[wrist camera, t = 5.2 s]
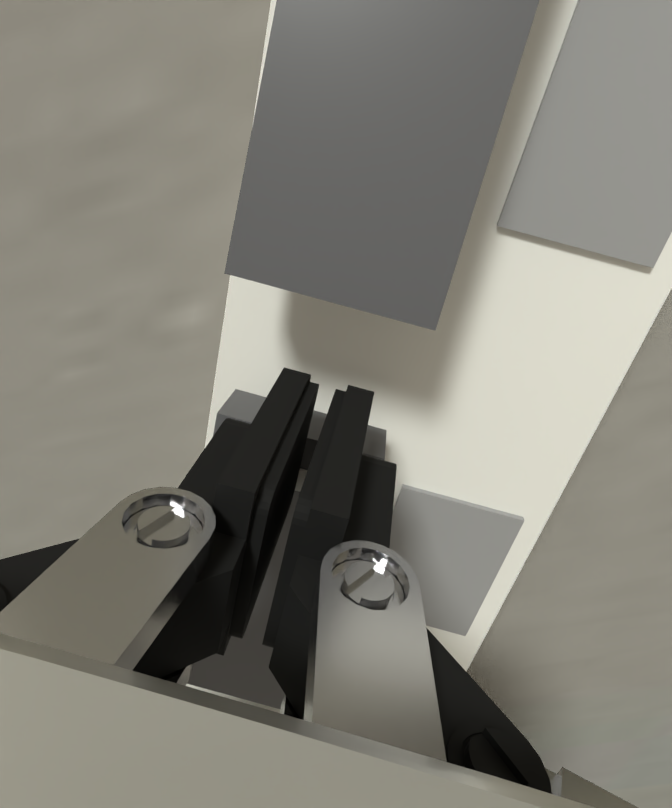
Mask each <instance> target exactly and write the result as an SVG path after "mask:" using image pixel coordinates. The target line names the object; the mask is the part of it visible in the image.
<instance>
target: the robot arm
mask: <svg viewBox="0 0 672 808" xmlns="http://www.w3.org/2000/svg"><path fill="white" fill-rule="evenodd" d="M310 379H311V375H310V374H307V373H303V372H300V371H296V370H292V369H288V368H285V367H284V368H283V370H282V372H281V373H280V375H279V377H278V378H277V380H276V382H275V383H274V385H273V387H272V389H271V390H270V392H269V394H268V395H267V397H266V399H265V401H264V402H263V404H262V406H261V407H260V409H259V411H258V413H257V414H256V416H255V418H254V419H253V421H252V423H251V424H249V423H246V422H242V421H238V420H235V419H231V418H226V419H225V420H224V421H223V423H222V424H221V426H220V427H219V429H218V430H217V431H216V433H215V434H214V436H213V437H212V439H211V440H210V442H209V443H208V445H207V446H206V448H205V449H204V451H203V452H202V453H201V455H200V456H199V458H198V459H197V461H196V462H195V464H194V465H193V467H192V468H191V470H190V471H189V473H188V474H187V475H186V477H185V478H184V480H183V481H182V483H181V484H180V486H179V487H178V488H171V487H157V488H149V489H144V490H141V491H139V492H136V493H133V494H131V495H129V496H128V497H126V498H125V499H123V500H122V501H120V502H119V503H118V504H117V505H116V506H115V507H114V508H113V509H112V510H111V511H109V512H108V513H107V514H106V515H105V516H104V517H103V518H102V519H101V520H100V521H99V522H97V523H96V524H95V525H94V526H93V527H92V528H91V529H90V530H89V531H88V532H87V533H86V534H84V535H83V536H82V537H81V538H80V539H77V540H73V541H69V542H65V543H62V544H58V545H54V546H50V547H47V548H43V549H39V550H35V551H31V552H28V553H24V554H20V555H16V556H12V557H9V558H5V559H1V560H0V808H638V807H636V806H635V805H633V804H631V803H629V802H627V801H625V800H623V799H621V798H620V797H618V796H616V795H614V794H612V793H610V792H608V791H607V790H605V789H603V788H601V787H599V786H597V785H595V784H593V783H592V782H590V781H588V780H586V779H584V778H582V777H580V776H578V775H577V774H575V773H573V772H571V771H569V770H567V769H565V768H564V767H562V768H561V769H560V771H559V772H558V773H557V774H556V773H554V772H552V771H550V770H548V769H547V768H545V767H544V765H543V763H542V761H541V758H540V757H539V755H538V754H537V753H536V751H535V750H534V749H533V747H532V746H531V745H530V743H529V742H528V740H527V739H526V738H525V737H524V736H523V735H522V734H521V733H520V731H519V730H518V729H517V728H516V727H515V726H514V725H513V724H512V722H511V721H510V720H509V719H508V718H507V717H506V716H505V715H504V714H503V712H502V711H501V710H500V709H499V708H498V707H497V706H496V705H495V703H494V702H493V701H492V700H491V699H490V698H489V697H488V696H487V694H486V693H485V692H484V691H483V690H482V689H481V688H480V687H479V686H478V684H477V683H476V682H475V681H474V680H473V679H472V678H471V677H470V675H469V674H468V673H467V672H466V671H465V670H464V669H463V668H462V667H461V665H460V664H459V663H458V662H457V661H456V660H455V659H454V658H453V656H452V655H451V654H450V653H449V652H448V651H447V650H446V649H445V648H444V646H443V645H442V644H441V643H440V642H439V641H438V640H437V639H436V637H435V636H434V635H433V634H432V633H431V632H430V631H429V630H428V629H427V627H426V622H425V615H424V609H423V602H422V596H421V589H420V584H419V581H418V578H417V575H416V573H415V572H414V570H413V569H412V567H411V566H410V565H409V563H408V562H407V561H406V560H405V559H403V558H402V557H401V556H400V555H399V554H398V553H396V552H394V551H393V550H391V549H389V547H390V536H391V525H392V514H393V503H394V492H395V481H396V470H397V465H396V464H395V463H392V462H388V461H384V460H381V459H377V458H373V457H370V456H366V455H362V452H363V447H364V442H365V437H366V432H367V427H368V422H369V417H370V412H371V406H372V401H373V396H374V392H373V391H370V390H366V389H362V388H359V387H355V386H351V385H348V387H347V390H346V391H342V390H339V389H336V390H335V392H334V395H333V398H332V401H331V404H330V407H329V410H328V413H327V416H326V418H325V421H324V424H323V427H322V430H321V433H320V436H319V439H318V442H317V445H316V447H315V450H314V453H313V456H312V459H311V462H310V465H309V468H308V471H307V474H306V476H305V479H304V482H303V485H302V488H301V491H300V494H299V497H298V500H297V504H296V507H295V511H294V514H293V518H292V522H291V526H290V530H289V534H288V538H287V543H286V547H285V551H284V555H283V559H282V563H281V568H280V572H279V576H278V580H277V584H276V588H275V593H274V597H273V601H272V605H271V609H270V613H269V618H268V622H267V626H266V630H265V634H264V638H263V643H262V645H265V646H269V647H272V648H273V651H272V655H271V659H270V663H269V669H270V671H271V672H272V674H273V676H274V677H275V679H276V680H277V682H278V684H279V685H280V687H281V689H282V690H283V692H284V696H283V700H282V704H281V709H280V713H277V712H274V711H270V710H267V709H264V708H260V707H257V706H253V705H250V704H246V703H243V702H239V701H236V700H232V699H229V698H225V697H222V696H219V695H215V694H212V693H208V692H205V691H201V690H198V689H194V688H191V687H187V686H186V684H187V682H188V681H189V679H190V676H191V674H192V671H193V669H194V663H196V662H198V661H200V660H202V659H205V658H207V657H209V656H211V655H214V654H219V655H223V656H224V653H225V651H226V648H227V646H228V643H229V640H230V638H231V636H234V637H237V638H241V639H242V638H243V636H244V634H245V631H246V628H247V626H248V623H249V620H250V617H251V614H252V612H253V609H254V606H255V603H256V600H257V598H258V595H259V592H260V589H261V586H262V584H263V581H264V578H265V575H266V572H267V570H268V567H269V564H270V561H271V558H272V556H273V553H274V550H275V547H276V544H277V542H278V539H279V536H280V533H281V530H282V528H283V525H284V522H285V519H286V517H287V514H288V511H289V508H290V505H291V502H292V499H293V495H294V491H295V487H296V483H297V479H298V474H299V470H300V466H301V462H302V457H303V453H304V449H305V445H306V440H307V436H308V432H309V428H310V423H311V419H312V415H313V411H314V406H315V402H316V398H317V394H318V389H319V384H316V383H313V382H310Z"/></svg>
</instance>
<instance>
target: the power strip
mask: <svg viewBox="0 0 672 808" xmlns="http://www.w3.org/2000/svg"><path fill="white" fill-rule="evenodd" d="M276 1H277V0H271V4H270V11H269V18H268V25H267V31H266V38H265V45H264V52H263V58H262V65H261V72H260V79H259V85H258V92H257V99H256V105H255V111H256V106H257V101H258V95H259V90H260V85H261V80H262V74H263V69H264V64H265V59H266V53H267V48H268V43H269V38H270V32H271V27H272V22H273V17H274V11H275V6H276ZM254 116H255V112H254ZM253 121H254V119H253ZM252 127H253V126H252ZM671 288H672V0H539V4H538V7H537V10H536V13H535V16H534V20H533V23H532V26H531V29H530V32H529V35H528V39H527V42H526V45H525V48H524V51H523V54H522V58H521V61H520V64H519V67H518V70H517V73H516V77H515V80H514V83H513V86H512V89H511V92H510V96H509V99H508V102H507V105H506V108H505V111H504V115H503V118H502V121H501V124H500V127H499V130H498V134H497V137H496V140H495V143H494V146H493V150H492V153H491V156H490V159H489V162H488V165H487V169H486V172H485V175H484V178H483V181H482V184H481V188H480V191H479V194H478V197H477V200H476V203H475V207H474V210H473V213H472V216H471V219H470V222H469V226H468V229H467V232H466V235H465V238H464V241H463V245H462V248H461V251H460V254H459V257H458V260H457V264H456V267H455V270H454V273H453V276H452V279H451V283H450V286H449V289H448V292H447V295H446V299H445V302H444V305H443V308H442V311H441V314H440V318H439V321H438V324H437V327H436V330H431V329H427V328H424V327H420V326H416V325H413V324H409V323H405V322H402V321H398V320H394V319H391V318H387V317H383V316H380V315H376V314H372V313H369V312H365V311H361V310H357V309H354V308H350V307H346V306H343V305H339V304H335V303H332V302H328V301H324V300H321V299H317V298H313V297H310V296H306V295H302V294H299V293H295V292H291V291H288V290H284V289H280V288H276V287H273V286H269V285H265V284H262V283H258V282H254V281H251V280H247V279H243V278H240V277H236V276H232V275H230V281H229V287H228V294H227V301H226V307H225V314H224V321H223V328H222V334H221V341H220V348H219V355H218V361H217V368H216V375H215V382H214V388H213V395H212V402H211V408H210V415H209V422H208V429H207V435H206V442H205V448H206V446H207V445H208V443H209V442H210V440H211V439H212V437H213V433H214V427H215V421H216V416H217V412H218V411H219V410H220V408H221V407H222V406H223V405H224V403H225V402H226V401H227V399H228V398H229V397H230V396H231V394H232V393H233V392H234V390H235V389H238V390H241V391H245V392H249V393H252V394H256V395H260V396H263V397H267V395H268V394H269V392H270V390H271V389H272V387H273V385H274V383H275V382H276V380H277V378H278V377H279V375H280V373H281V372H282V370H283V368H284V367H285V368H288V369H292V370H296V371H300V372H303V373H307V374H310V375H311V379H310V382H313V383H316V384H319V389H318V394H317V398H316V402H315V406H314V410H315V411H318V412H322V413H326V414H327V413H328V410H329V407H330V404H331V401H332V398H333V395H334V392H335V390H336V389H339V390H342V391H346V390H347V387H348V385H351V386H355V387H359V388H362V389H366V390H370V391H373V392H374V396H373V401H372V406H371V412H370V417H369V422H368V425H370V426H373V427H377V428H381V429H384V430H387V432H386V448H385V460H384V461H388V462H392V463H395V464H396V465H397V470H396V481H395V492H394V503H393V514H392V525H391V536H390V547H389V549H391V550H393V551H394V552H396V553H398V554H399V555H400V556H401V557H402V558H403V559H405V560H406V561H407V562H408V563H409V565H410V566H411V567H412V569H413V570H414V572H415V573H416V575H417V578H418V581H419V584H420V589H421V596H422V602H423V609H424V615H425V622H426V627H427V629H428V630H429V631H430V632H431V633H432V634H433V635H434V636H435V637H436V639H437V640H438V641H439V642H440V643H441V644H442V645H443V646H444V648H445V649H446V650H447V651H448V652H449V653H450V654H451V655H452V656H453V658H454V659H455V660H456V661H457V662H458V663H459V664H460V665H461V667H462V668H463V669H464V670H465V671H466V672H467V670H468V668H469V666H470V664H471V662H472V660H473V659H474V657H475V655H476V653H477V651H478V649H479V647H480V645H481V644H482V642H483V640H484V638H485V636H486V634H487V632H488V630H489V629H490V627H491V625H492V623H493V621H494V619H495V617H496V616H497V614H498V612H499V610H500V608H501V606H502V604H503V602H504V601H505V599H506V597H507V595H508V593H509V591H510V589H511V588H512V586H513V584H514V582H515V580H516V578H517V576H518V574H519V573H520V571H521V569H522V567H523V565H524V563H525V561H526V559H527V558H528V556H529V554H530V552H531V550H532V548H533V546H534V545H535V543H536V541H537V539H538V537H539V535H540V533H541V531H542V530H543V528H544V526H545V524H546V522H547V520H548V518H549V516H550V515H551V513H552V511H553V509H554V507H555V505H556V503H557V502H558V500H559V498H560V496H561V494H562V492H563V490H564V488H565V487H566V485H567V483H568V481H569V479H570V477H571V475H572V473H573V472H574V470H575V468H576V466H577V464H578V462H579V460H580V459H581V457H582V455H583V453H584V451H585V449H586V447H587V445H588V444H589V442H590V440H591V438H592V436H593V434H594V432H595V430H596V429H597V427H598V425H599V423H600V421H601V419H602V417H603V416H604V414H605V412H606V410H607V408H608V406H609V404H610V402H611V401H612V399H613V397H614V395H615V393H616V391H617V389H618V387H619V386H620V384H621V382H622V380H623V378H624V376H625V374H626V373H627V371H628V369H629V367H630V365H631V363H632V361H633V359H634V358H635V356H636V354H637V352H638V350H639V348H640V346H641V344H642V343H643V341H644V339H645V337H646V335H647V333H648V331H649V330H650V328H651V326H652V324H653V322H654V320H655V318H656V316H657V315H658V313H659V311H660V309H661V307H662V305H663V303H664V302H665V300H666V298H667V296H668V294H669V292H670V290H671ZM186 686H187V687H191V688H194V689H198V690H201V691H205V692H208V693H212V694H215V695H219V696H222V697H225V698H229V699H232V700H236V701H239V702H243V703H246V704H250V705H253V706H257V707H260V708H264V709H267V710H270V711H274V712H277V713H280V709H277V708H274V707H270V706H266V705H263V704H259V703H256V702H252V701H248V700H245V699H241V698H237V697H234V696H230V695H227V694H223V693H219V692H216V691H212V690H208V689H205V688H201V687H198V686H194V685H190V684H186Z"/></svg>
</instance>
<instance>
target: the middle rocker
mask: <svg viewBox="0 0 672 808" xmlns="http://www.w3.org/2000/svg"><path fill="white" fill-rule="evenodd" d="M265 399H266V397H263V396H260V395H256V394H252V393H249V392H245V391H241V390H238V389H235V390H234V392H233V393H232V394H231V396H230V397H229V398H228V399H227V401H226V402H225V403H224V405H223V406H222V407H221V408H220V410H219V411H218V412H217V416H216V421H215V427H214V433H213V436H214V434H215V433H216V431H217V430H218V429H219V427H220V426H221V424H222V423H223V421H224V420H225V419H226V418H231V419H235V420H238V421H242V422H246V423H249V424H251V423H252V421H253V419H254V418H255V416H256V414H257V413H258V411H259V409H260V407H261V406H262V404H263V402H264V401H265ZM326 416H327V414H326V413H322V412H318V411H315V410H314V411H313V415H312V419H311V423H310V428H309V432H308V436H307V440H306V445H305V449H304V453H303V457H302V462H301V466H300V470H299V474H298V479H297V483H296V487H295V491H294V495H293V499H292V502H291V505H290V508H289V511H288V514H287V517H286V519H285V522H284V525H283V528H282V530H281V533H280V536H279V539H278V542H277V544H276V547H275V550H274V553H273V556H272V558H271V561H270V564H269V567H268V570H267V572H266V575H265V578H264V581H263V584H262V586H261V589H260V592H259V595H258V598H257V600H256V603H255V606H254V609H253V612H252V614H251V617H250V620H249V623H248V626H247V628H246V631H245V634H244V636H243V638H242V639H241V638H237V637H234V636H231V638H230V640H229V643H228V646H227V648H226V651H225V653H224V656H223V655H219V654H214V655H211V656H209V657H207V658H205V659H202V660H200V661H198V662H196V663H194V669H193V671H192V674H191V676H190V679H189V681H188V682H187V684H190V685H194V686H198V687H201V688H205V689H208V690H212V691H216V692H219V693H223V694H227V695H230V696H234V697H237V698H241V699H245V700H248V701H252V702H256V703H259V704H263V705H266V706H270V707H274V708H277V709H281V704H282V700H283V696H284V692H283V690H282V689H281V687H280V685H279V684H278V682H277V680H276V679H275V677H274V676H273V674H272V672H271V671H270V669H269V663H270V659H271V655H272V651H273V648H272V647H269V646H265V645H262V643H263V638H264V634H265V630H266V626H267V622H268V618H269V613H270V609H271V605H272V601H273V597H274V593H275V588H276V584H277V580H278V576H279V572H280V568H281V563H282V559H283V555H284V551H285V547H286V543H287V538H288V534H289V530H290V526H291V522H292V518H293V514H294V511H295V507H296V504H297V500H298V497H299V494H300V491H301V488H302V485H303V482H304V479H305V476H306V474H307V471H308V468H309V465H310V462H311V459H312V456H313V453H314V450H315V447H316V445H317V442H318V439H319V436H320V433H321V430H322V427H323V424H324V421H325V418H326ZM386 432H387V430H384V429H381V428H377V427H373V426H370V425H368V427H367V432H366V437H365V442H364V447H363V452H362V455H366V456H370V457H373V458H377V459H381V460H385V448H386Z"/></svg>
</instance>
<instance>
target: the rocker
mask: <svg viewBox="0 0 672 808" xmlns="http://www.w3.org/2000/svg"><path fill="white" fill-rule="evenodd" d="M538 4H539V0H277V1H276V6H275V11H274V17H273V22H272V27H271V32H270V38H269V43H268V48H267V53H266V59H265V64H264V69H263V74H262V80H261V85H260V90H259V95H258V101H257V106H256V111H255V116H254V121H253V127H252V132H251V137H250V142H249V148H248V153H247V158H246V163H245V169H244V174H243V179H242V184H241V190H240V195H239V200H238V205H237V211H236V216H235V221H234V226H233V231H232V237H231V242H230V247H229V252H228V258H227V263H226V268H225V274H229V275H232V276H236V277H240V278H243V279H247V280H251V281H254V282H258V283H262V284H265V285H269V286H273V287H276V288H280V289H284V290H288V291H291V292H295V293H299V294H302V295H306V296H310V297H313V298H317V299H321V300H324V301H328V302H332V303H335V304H339V305H343V306H346V307H350V308H354V309H357V310H361V311H365V312H369V313H372V314H376V315H380V316H383V317H387V318H391V319H394V320H398V321H402V322H405V323H409V324H413V325H416V326H420V327H424V328H427V329H431V330H436V327H437V324H438V321H439V318H440V314H441V311H442V308H443V305H444V302H445V299H446V295H447V292H448V289H449V286H450V283H451V279H452V276H453V273H454V270H455V267H456V264H457V260H458V257H459V254H460V251H461V248H462V245H463V241H464V238H465V235H466V232H467V229H468V226H469V222H470V219H471V216H472V213H473V210H474V207H475V203H476V200H477V197H478V194H479V191H480V188H481V184H482V181H483V178H484V175H485V172H486V169H487V165H488V162H489V159H490V156H491V153H492V150H493V146H494V143H495V140H496V137H497V134H498V130H499V127H500V124H501V121H502V118H503V115H504V111H505V108H506V105H507V102H508V99H509V96H510V92H511V89H512V86H513V83H514V80H515V77H516V73H517V70H518V67H519V64H520V61H521V58H522V54H523V51H524V48H525V45H526V42H527V39H528V35H529V32H530V29H531V26H532V23H533V20H534V16H535V13H536V10H537V7H538Z"/></svg>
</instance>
